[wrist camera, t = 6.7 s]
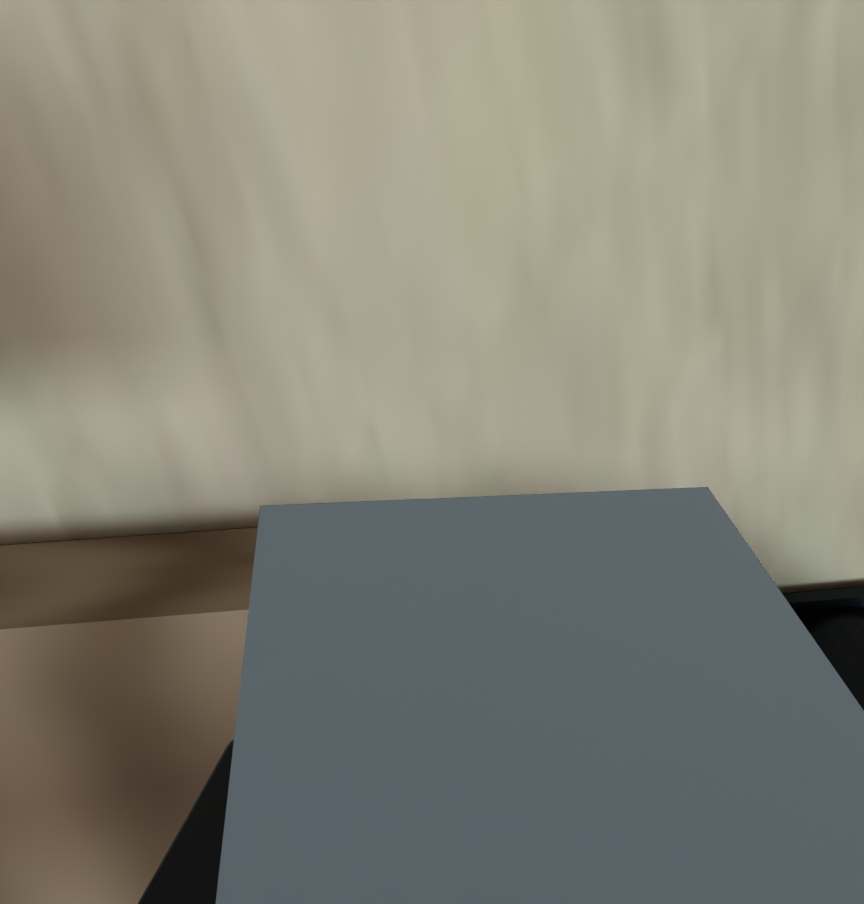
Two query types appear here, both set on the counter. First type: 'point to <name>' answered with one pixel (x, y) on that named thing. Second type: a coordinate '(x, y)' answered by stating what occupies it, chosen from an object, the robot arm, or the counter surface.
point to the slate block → (534, 711)
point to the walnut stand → (113, 703)
